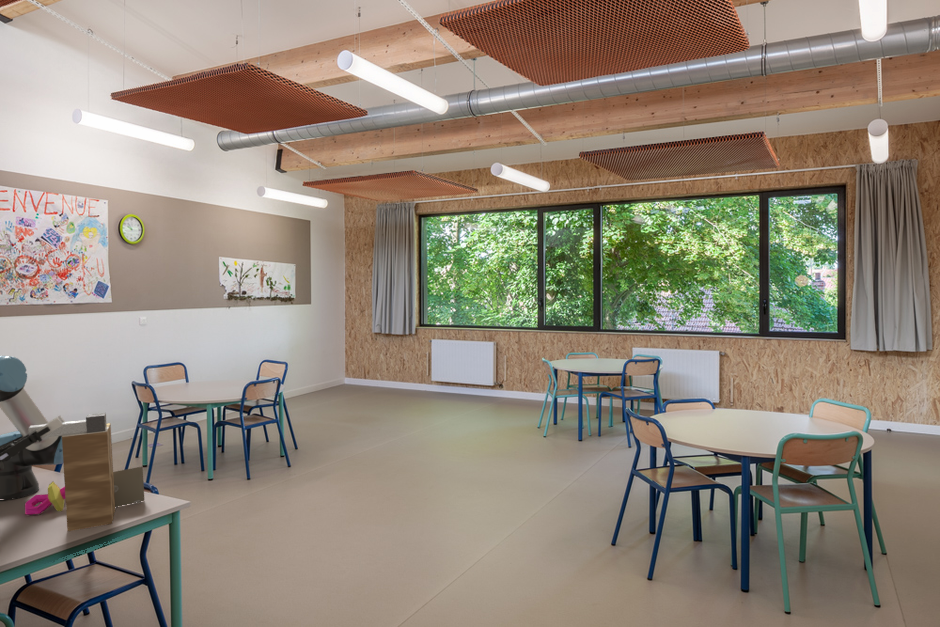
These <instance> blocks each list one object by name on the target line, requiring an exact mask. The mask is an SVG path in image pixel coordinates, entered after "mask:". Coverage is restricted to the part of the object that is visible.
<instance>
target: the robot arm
mask: <svg viewBox="0 0 940 627" xmlns="http://www.w3.org/2000/svg"><path fill="white" fill-rule="evenodd" d="M27 379H28V373H27V367H26V365H25V363H23V361H22V360H20V359H19V358H18V357H15V356H11V355H10V356H9V355H0V410H1V411H2V412H3V414H4V415H5V416H6V417H7V419H8V420H10V422H11V423H12V425H13V426H14V427H15V428H16V431H11V432H7V433H3V434H0V499H10V500H13V499H12V498H16V499H20V498H24V497H27V496H30V495H33V494H35V493H37V492H38V491H39V490H40V486H39V484H40V483H39V481H38V480H37V477H36V475H35V474H34V471H33V466H48V465H49V466H52V465H53V466H56V465H61V464H63V448H62V436H53V437H45V438H42V437H44V436H46V435H47V434H49V433H51V432H52V431H54V430H56V429H57V428H59V427H61V426H62V425H63V424H62V422H66V421H65V420H64V418H63V417H62V416H61V415H57V416H56V417H55V418H53V419H51V420H50V421H48V420H47V419H46V417H45V416H44V414H43V413H42V411H40V408H39V407H38V406H37V404H36V403H35V402H34V400H33V399H32V397H31V396H30V395H29V394H28V392H27V391H26V389H25V386H26V383H27ZM42 424H46V425H45V426H43V427H41V428H40V429H38V430H36V432H37V433H36V432H33V433H32V434H31V435H29V430H28V428H29V427H30V426H33V425H42ZM40 437H41V438H40ZM23 496H24V497H23ZM19 497H20V498H19Z"/></svg>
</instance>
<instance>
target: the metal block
mask: <svg viewBox="0 0 940 627" xmlns="http://www.w3.org/2000/svg"><path fill="white" fill-rule="evenodd" d="M62 424H63V425H62V426H61V427H59V428H57V429H56V430H54V431H52V432H51V433H49V434H47V435H46V436H44V437H42V438H45V437H53V436H62V435H71V434H79V433H92V432H101V431H105V430H106V428H107V424H108V423H107V413H106V412H100V413H99V412H98V413H90V414H87V415H86V417H85V419H81V420H73V421H65V422H62ZM45 425H46V424H42V425H33V426H30V427H29V428H28V430H29V435H31V434H32V433H33V432H36V430H38V429H40V428H41V427H43V426H45ZM36 433H37V432H36ZM40 438H41V437H40Z"/></svg>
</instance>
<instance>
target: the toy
mask: <svg viewBox="0 0 940 627" xmlns="http://www.w3.org/2000/svg"><path fill="white" fill-rule="evenodd" d="M65 500H66V498H65V486H63V487H61V488H60V487H59V486H58V484H57V483H56V482H54V481H52V482H50V483H49V484H48V487H47V494H45V493H43V494H34V496H32V497H30V498H29V500H27V501H26V502H25V504H24V512H25V514H24V515H29V516H32V515H33V514H35V515H41V514H43V513H44V512H45V511H46V510H47V509H49V507H53V508H54V509H55V510H56V512H63V511H64V507H65ZM39 503H40V504H39ZM36 505H37V506H36Z"/></svg>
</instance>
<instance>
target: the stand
mask: <svg viewBox="0 0 940 627" xmlns="http://www.w3.org/2000/svg"><path fill="white" fill-rule="evenodd" d="M106 424H107V428H106V430H105V431H101V432H92V433H79V434H71V435H62V448H63V477H64V478H63V479H64V487H65V498H66V499H65V509H66V510H65V515H66V527H67V528H66V530H67V532H73V531H79V530H84V529H90V528H96V527H100V526H107V525H112V524H113V522H112V521H114V518H113V517H115V514H116V513H115V512H116V508H115V496H114V478H113V472H114V462H113V446H112V444H113V443H112V427H111V423H109V422H108V423H106ZM114 513H115V514H114Z"/></svg>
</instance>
